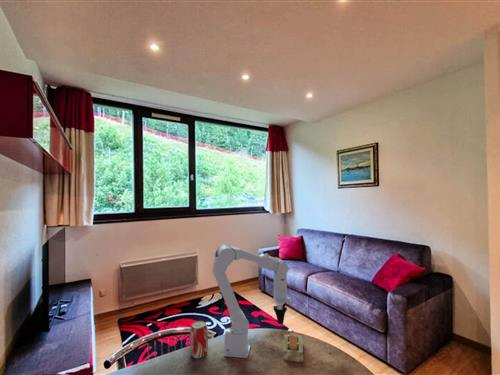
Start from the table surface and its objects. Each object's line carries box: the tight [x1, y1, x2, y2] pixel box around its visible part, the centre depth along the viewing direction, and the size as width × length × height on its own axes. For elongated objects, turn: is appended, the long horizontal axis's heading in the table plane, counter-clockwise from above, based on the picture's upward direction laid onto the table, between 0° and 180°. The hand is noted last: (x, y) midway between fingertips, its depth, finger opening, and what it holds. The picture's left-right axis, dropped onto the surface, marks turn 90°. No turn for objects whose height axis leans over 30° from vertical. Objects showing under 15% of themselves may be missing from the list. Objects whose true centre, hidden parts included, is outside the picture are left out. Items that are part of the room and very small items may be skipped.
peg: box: [288, 332, 298, 351], centre depth 100 cm, size 3×3×8 cm
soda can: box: [189, 320, 209, 359], centre depth 102 cm, size 7×7×12 cm
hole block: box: [283, 334, 304, 363], centre depth 102 cm, size 8×12×4 cm, turn 171°
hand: (281, 319), depth 108 cm, fingers open, 7 cm apart
